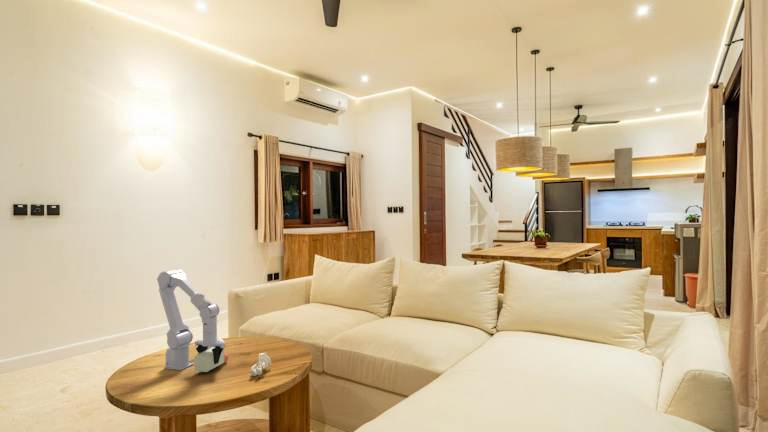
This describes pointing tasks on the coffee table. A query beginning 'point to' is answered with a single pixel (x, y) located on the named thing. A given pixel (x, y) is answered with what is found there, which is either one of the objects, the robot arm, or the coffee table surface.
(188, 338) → the robot arm
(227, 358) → the ball
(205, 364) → the pale green block
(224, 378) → the coffee table surface
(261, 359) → the white lumpy piece
